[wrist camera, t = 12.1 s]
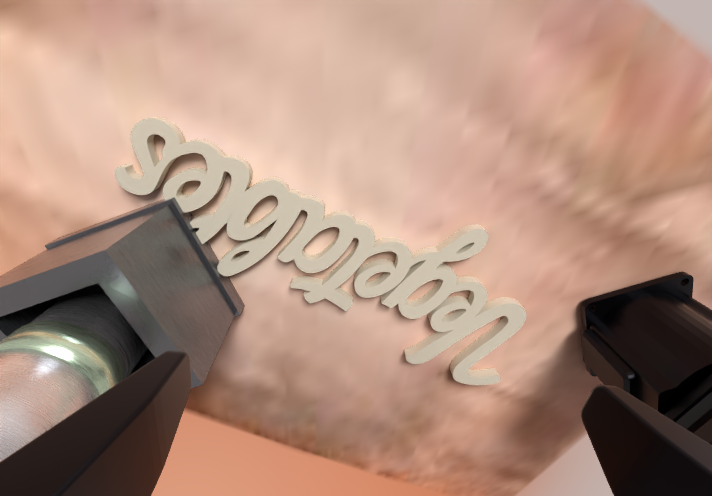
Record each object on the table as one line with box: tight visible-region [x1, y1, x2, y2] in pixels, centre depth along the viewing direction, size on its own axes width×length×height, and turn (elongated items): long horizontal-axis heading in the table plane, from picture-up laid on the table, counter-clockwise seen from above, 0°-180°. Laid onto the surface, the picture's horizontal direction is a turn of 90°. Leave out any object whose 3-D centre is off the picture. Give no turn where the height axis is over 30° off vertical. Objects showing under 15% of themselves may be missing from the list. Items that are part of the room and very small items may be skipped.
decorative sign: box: [115, 117, 526, 385], centre depth 21 cm, size 26×1×10 cm
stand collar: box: [0, 197, 245, 388], centre depth 18 cm, size 8×8×6 cm
